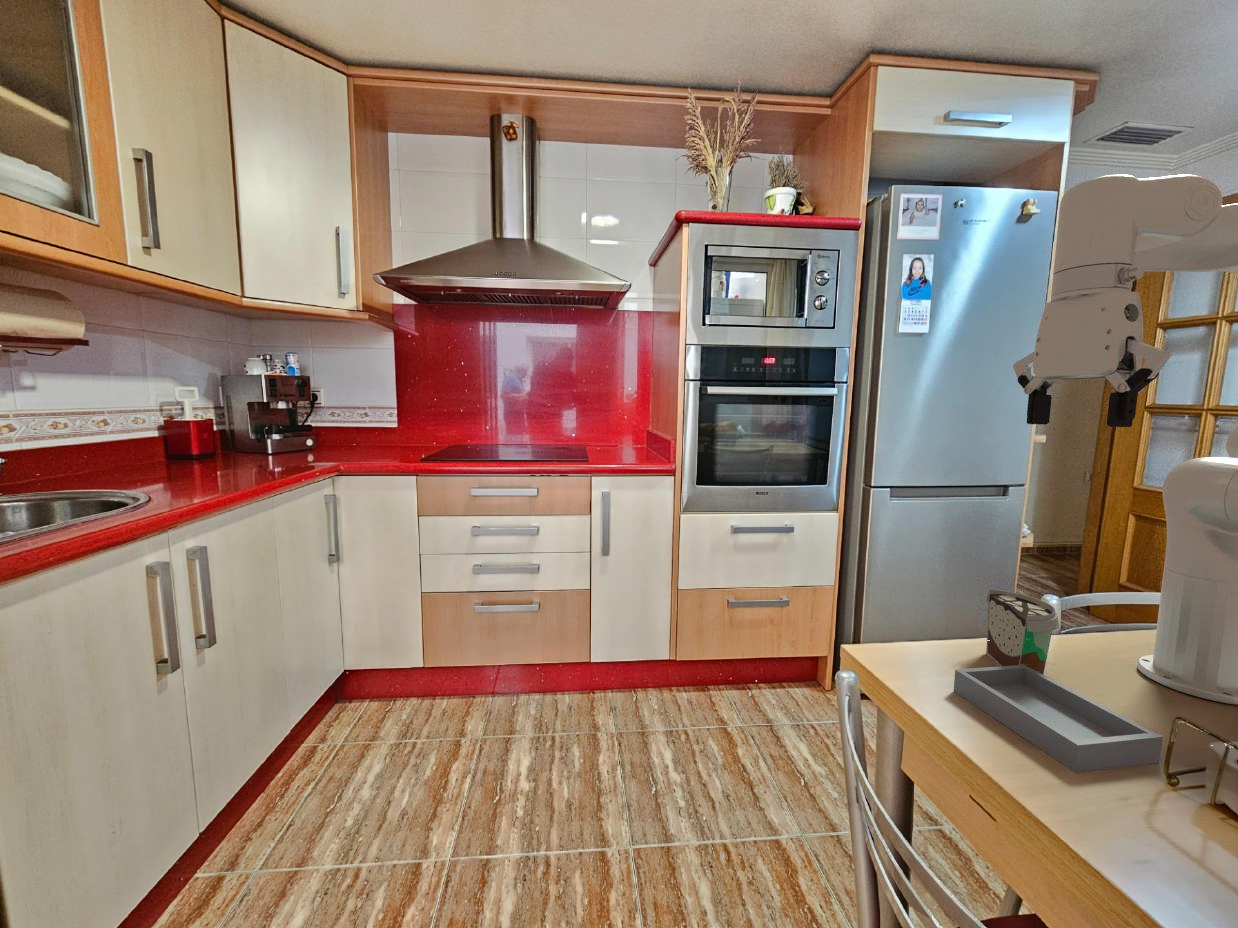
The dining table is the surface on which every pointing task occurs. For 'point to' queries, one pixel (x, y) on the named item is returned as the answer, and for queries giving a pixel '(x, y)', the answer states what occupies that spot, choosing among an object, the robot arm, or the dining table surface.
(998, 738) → the dining table surface
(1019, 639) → the food container
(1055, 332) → the robot arm
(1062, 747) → the tray
